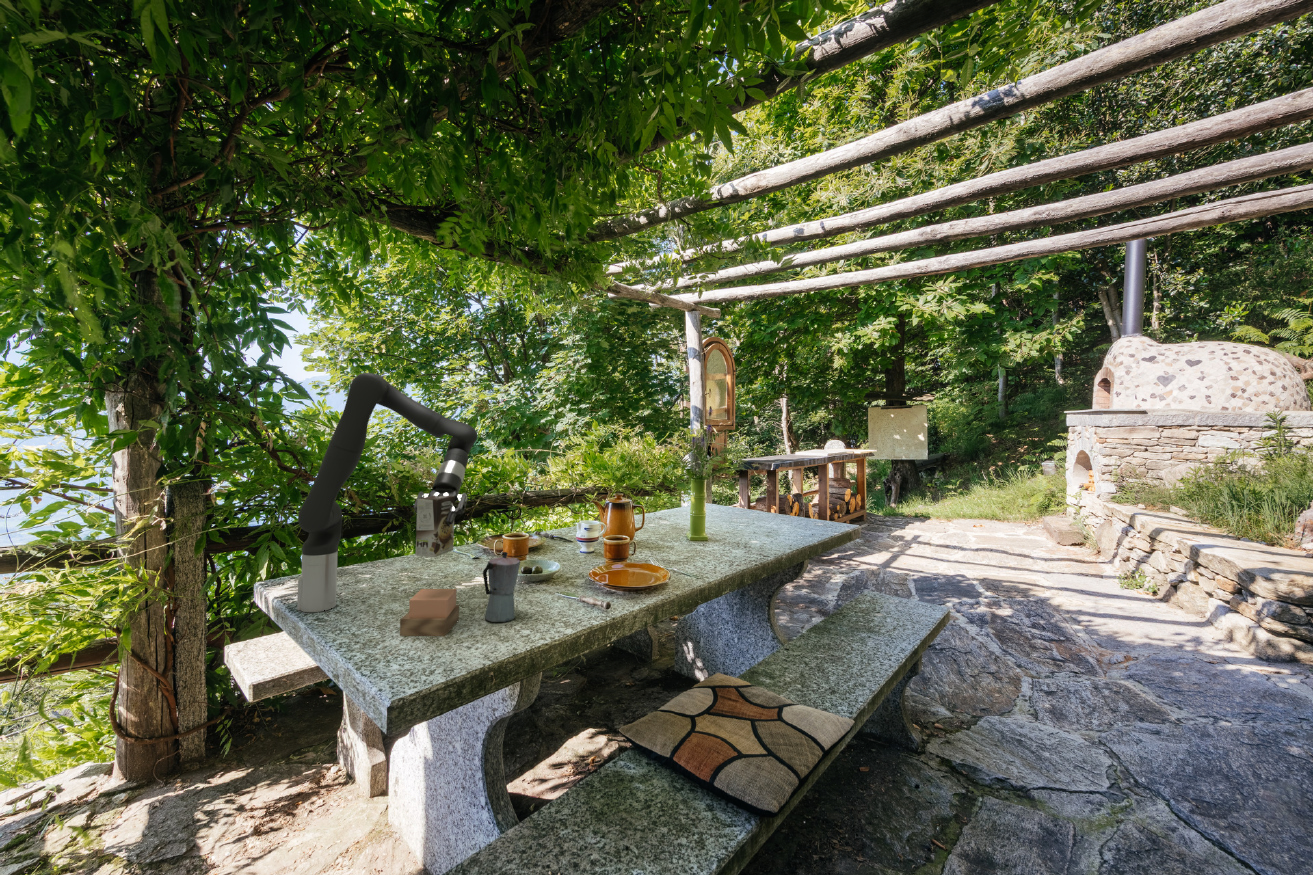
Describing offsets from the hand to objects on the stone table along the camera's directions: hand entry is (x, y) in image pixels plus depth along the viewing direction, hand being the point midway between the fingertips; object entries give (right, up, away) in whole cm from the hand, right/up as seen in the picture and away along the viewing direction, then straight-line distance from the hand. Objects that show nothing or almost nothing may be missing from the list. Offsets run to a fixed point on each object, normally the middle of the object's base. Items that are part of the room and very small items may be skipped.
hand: (433, 524), depth 147 cm
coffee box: (0, -9, +2) cm, 9 cm away
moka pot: (+15, -31, +10) cm, 36 cm away
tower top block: (-1, -25, +2) cm, 25 cm away
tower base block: (-2, -30, +2) cm, 30 cm away
